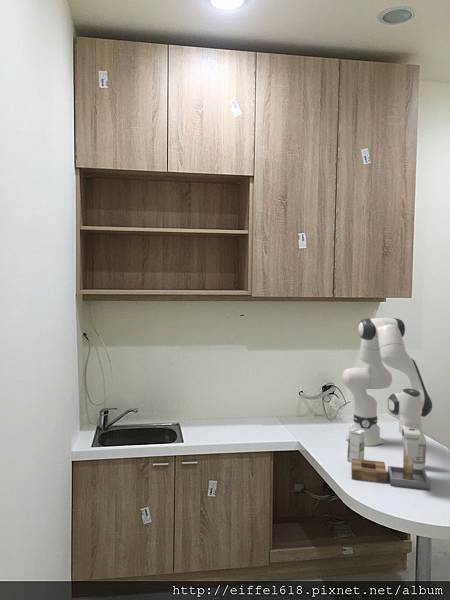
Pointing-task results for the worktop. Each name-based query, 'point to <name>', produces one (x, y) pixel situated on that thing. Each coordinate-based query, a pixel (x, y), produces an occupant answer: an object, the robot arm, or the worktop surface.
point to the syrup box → (356, 444)
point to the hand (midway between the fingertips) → (408, 460)
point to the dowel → (407, 468)
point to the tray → (418, 480)
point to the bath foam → (420, 453)
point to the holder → (368, 470)
